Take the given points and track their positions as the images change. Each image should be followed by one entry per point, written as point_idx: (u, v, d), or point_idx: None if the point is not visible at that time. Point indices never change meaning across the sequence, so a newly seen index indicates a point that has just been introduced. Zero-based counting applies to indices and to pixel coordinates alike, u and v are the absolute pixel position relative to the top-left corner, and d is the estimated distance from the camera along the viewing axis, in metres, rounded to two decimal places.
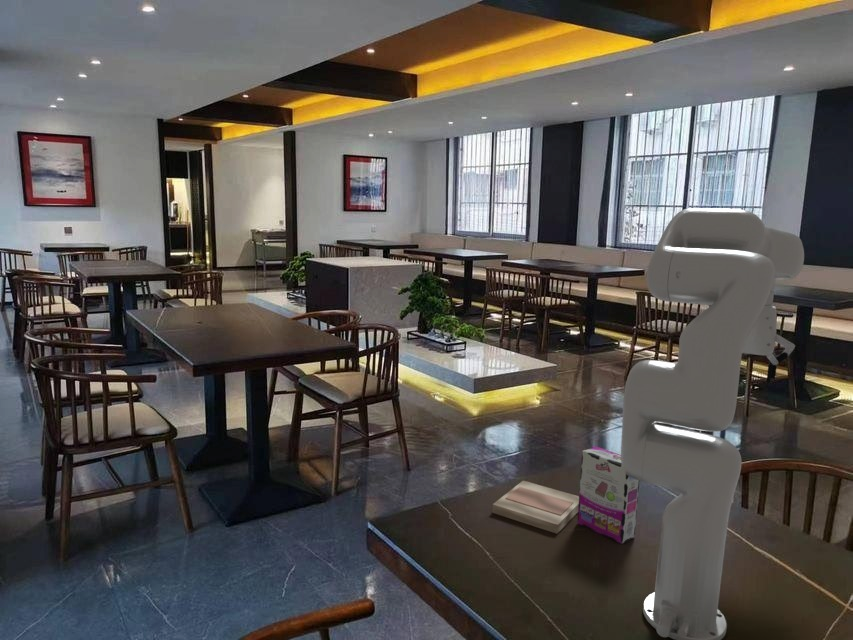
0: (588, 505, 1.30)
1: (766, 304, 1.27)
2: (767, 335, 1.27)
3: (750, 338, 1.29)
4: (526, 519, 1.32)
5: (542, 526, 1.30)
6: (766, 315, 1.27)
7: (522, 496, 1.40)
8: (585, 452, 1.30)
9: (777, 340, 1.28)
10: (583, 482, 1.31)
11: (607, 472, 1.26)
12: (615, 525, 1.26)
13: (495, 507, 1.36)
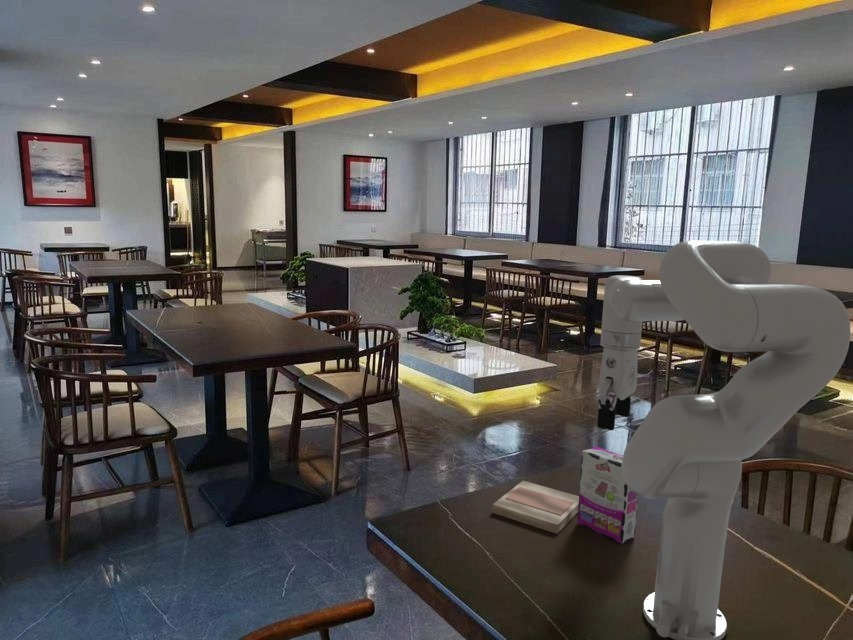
0: (588, 505, 1.30)
1: None
2: (636, 371, 1.26)
3: (632, 379, 1.24)
4: (526, 519, 1.32)
5: (542, 526, 1.30)
6: (637, 352, 1.25)
7: (522, 496, 1.40)
8: (585, 452, 1.30)
9: None
10: (583, 482, 1.31)
11: (607, 472, 1.26)
12: (615, 525, 1.26)
13: (495, 507, 1.36)
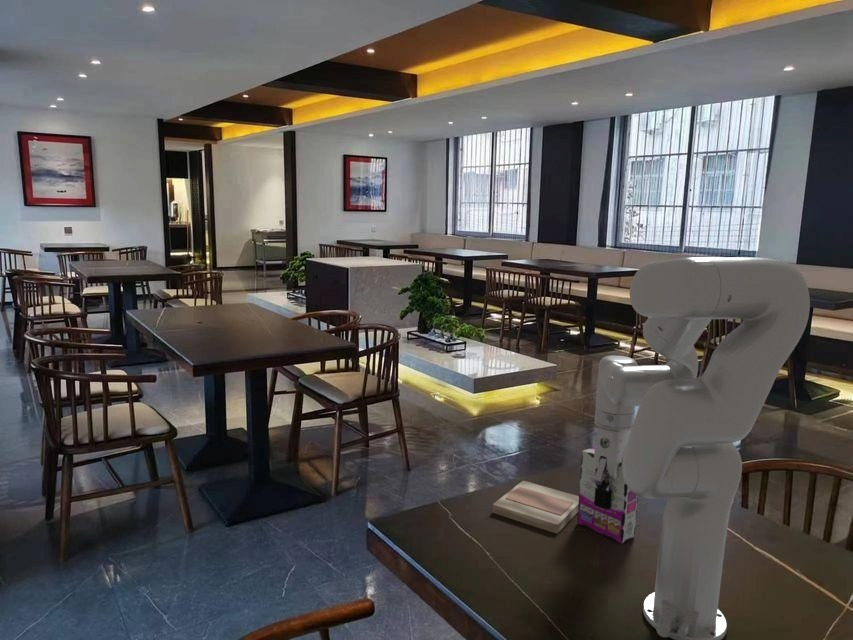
0: (588, 505, 1.30)
1: None
2: None
3: None
4: (526, 519, 1.32)
5: (542, 526, 1.30)
6: (630, 429, 1.28)
7: (522, 496, 1.40)
8: (585, 452, 1.30)
9: None
10: (583, 482, 1.31)
11: None
12: (615, 525, 1.26)
13: (495, 507, 1.36)
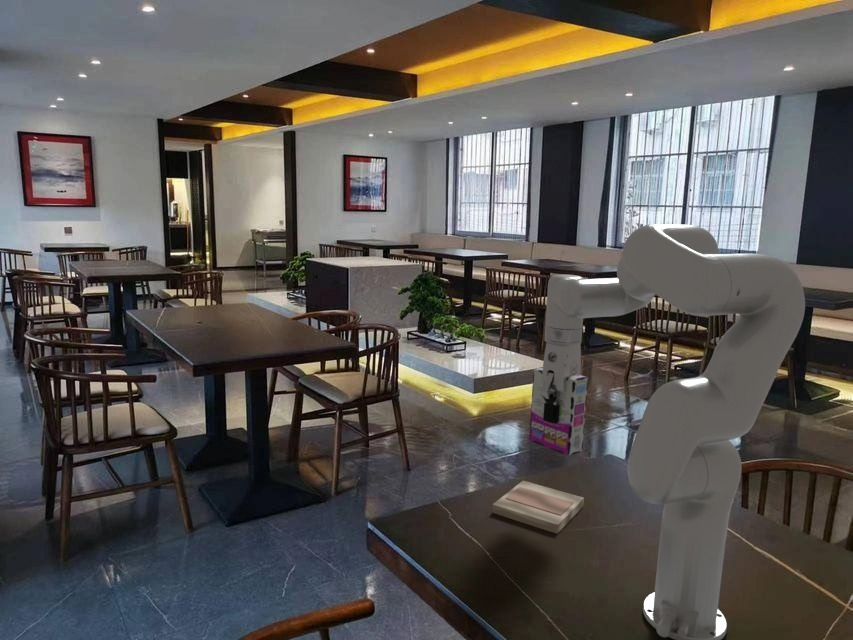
0: (539, 421, 1.34)
1: None
2: (579, 365, 1.33)
3: (574, 373, 1.31)
4: (526, 519, 1.32)
5: (542, 526, 1.30)
6: (579, 347, 1.32)
7: (522, 496, 1.40)
8: (536, 370, 1.34)
9: None
10: (534, 399, 1.35)
11: (555, 387, 1.30)
12: (563, 438, 1.30)
13: (495, 507, 1.36)
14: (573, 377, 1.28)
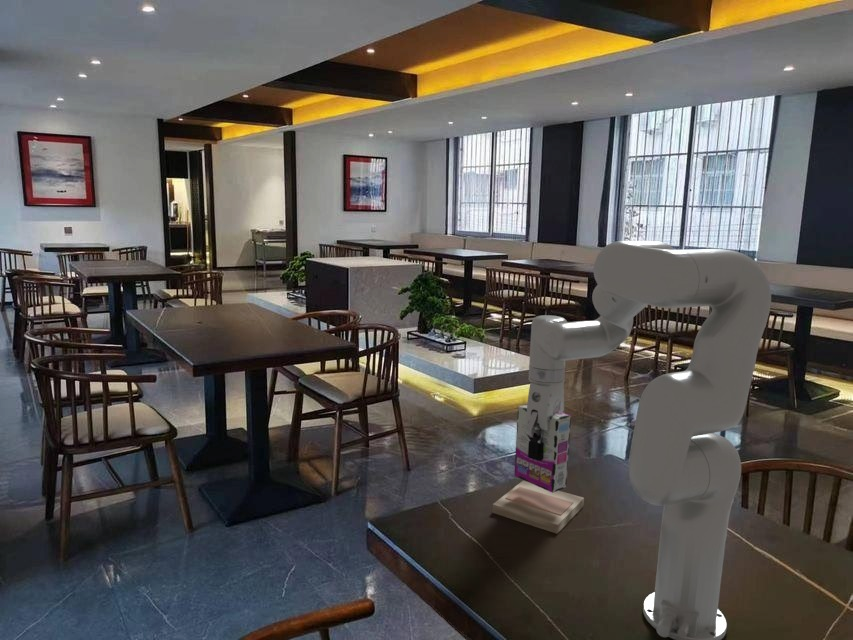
0: (523, 458, 1.37)
1: None
2: (563, 403, 1.36)
3: (557, 411, 1.34)
4: (526, 519, 1.32)
5: (542, 526, 1.30)
6: (562, 386, 1.35)
7: (522, 496, 1.40)
8: (520, 407, 1.37)
9: None
10: (519, 436, 1.38)
11: (539, 425, 1.33)
12: (547, 475, 1.33)
13: (495, 507, 1.36)
14: (556, 416, 1.31)
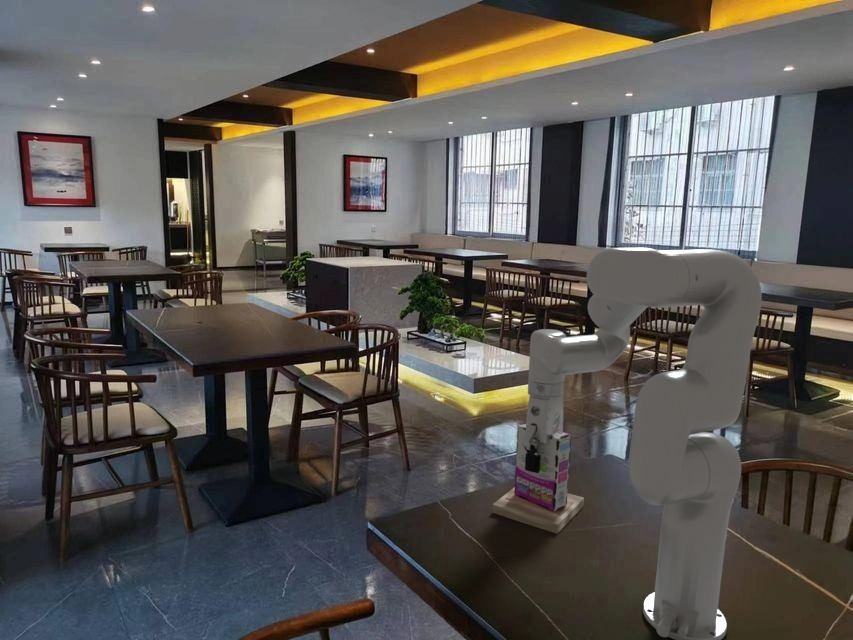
0: (524, 477, 1.38)
1: None
2: (562, 416, 1.37)
3: (556, 425, 1.34)
4: (526, 519, 1.32)
5: (542, 526, 1.30)
6: (561, 399, 1.35)
7: None
8: (520, 427, 1.37)
9: None
10: (519, 455, 1.38)
11: None
12: (548, 494, 1.33)
13: (495, 507, 1.36)
14: (557, 435, 1.32)
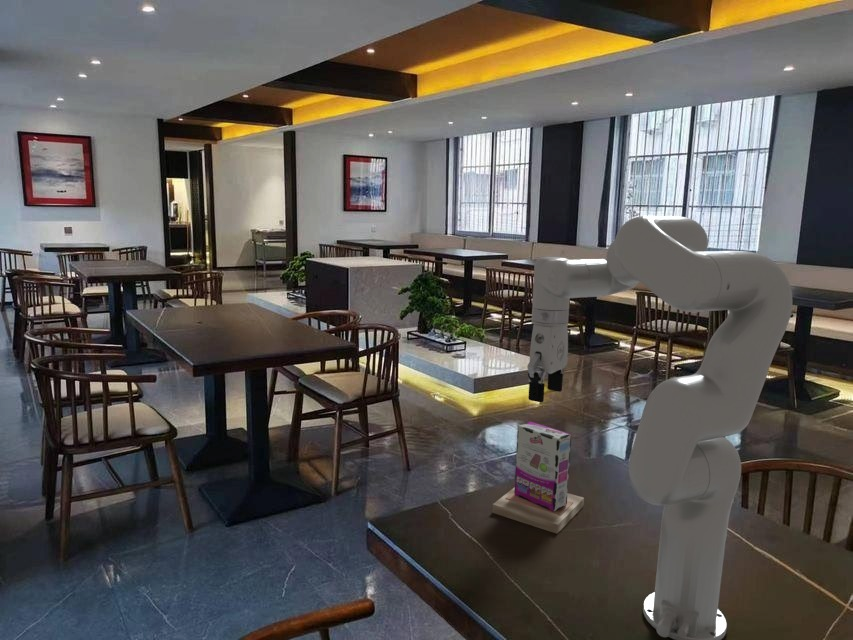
0: (524, 477, 1.38)
1: None
2: (566, 347, 1.34)
3: (561, 355, 1.31)
4: (526, 519, 1.32)
5: (542, 526, 1.30)
6: (566, 329, 1.33)
7: None
8: (520, 427, 1.37)
9: None
10: (519, 455, 1.38)
11: (540, 444, 1.34)
12: (548, 494, 1.33)
13: (495, 507, 1.36)
14: (557, 435, 1.32)
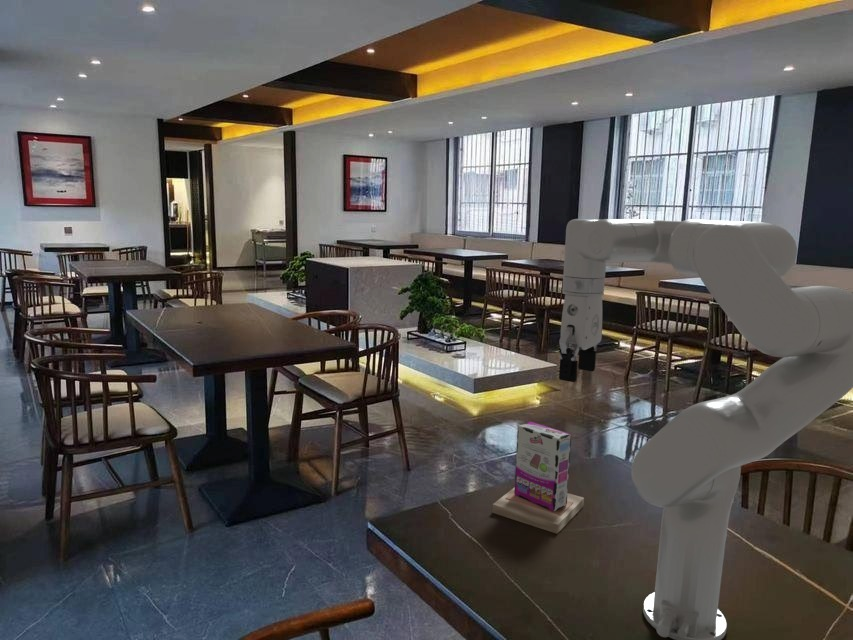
0: (524, 477, 1.38)
1: None
2: (601, 321, 1.20)
3: (595, 329, 1.17)
4: (526, 519, 1.32)
5: (542, 526, 1.30)
6: (601, 301, 1.18)
7: None
8: (520, 427, 1.37)
9: None
10: (519, 455, 1.38)
11: (540, 444, 1.34)
12: (548, 494, 1.33)
13: (495, 507, 1.36)
14: (557, 435, 1.32)
